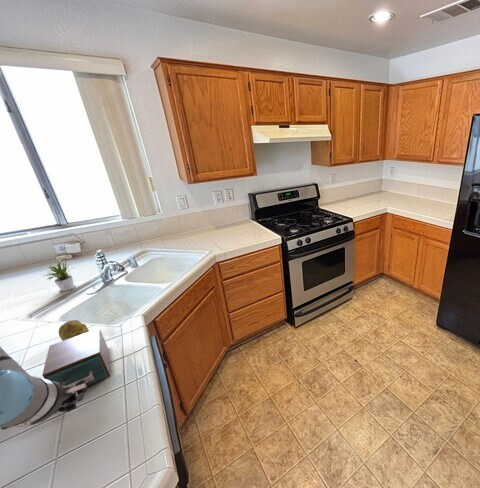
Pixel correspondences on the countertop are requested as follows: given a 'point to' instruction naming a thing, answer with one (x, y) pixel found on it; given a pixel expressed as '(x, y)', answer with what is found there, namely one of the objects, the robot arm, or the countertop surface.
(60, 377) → the drawer
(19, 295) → the countertop surface
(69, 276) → the house plant
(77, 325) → the potato
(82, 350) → the cabinet
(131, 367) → the countertop surface
